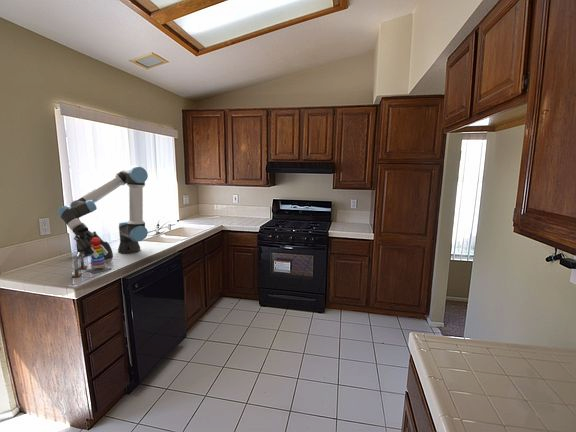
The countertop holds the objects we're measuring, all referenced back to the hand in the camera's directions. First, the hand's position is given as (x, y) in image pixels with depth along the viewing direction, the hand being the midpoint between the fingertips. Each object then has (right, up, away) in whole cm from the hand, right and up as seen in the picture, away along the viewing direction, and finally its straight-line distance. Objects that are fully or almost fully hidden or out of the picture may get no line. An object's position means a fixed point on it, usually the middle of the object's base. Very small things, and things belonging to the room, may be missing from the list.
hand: (102, 255), depth 179 cm
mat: (-4, -10, +2) cm, 11 cm away
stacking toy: (-4, -8, +2) cm, 9 cm away
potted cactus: (-9, -8, +18) cm, 21 cm away
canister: (-34, -5, +35) cm, 49 cm away
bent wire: (-12, -10, -1) cm, 16 cm away
